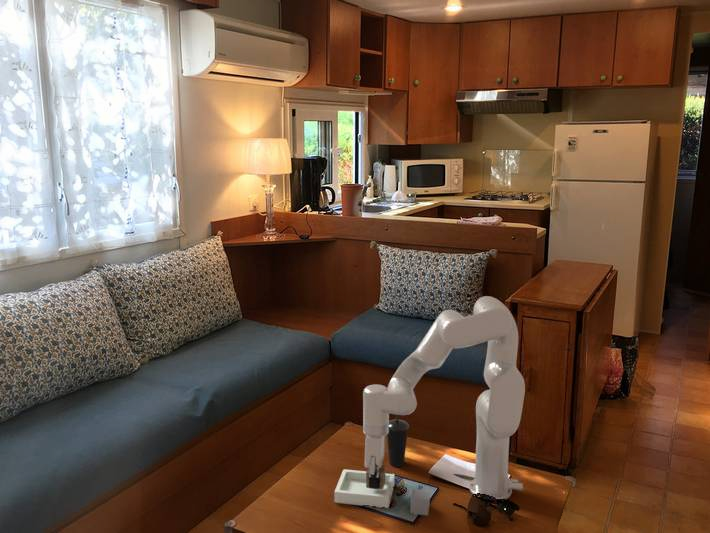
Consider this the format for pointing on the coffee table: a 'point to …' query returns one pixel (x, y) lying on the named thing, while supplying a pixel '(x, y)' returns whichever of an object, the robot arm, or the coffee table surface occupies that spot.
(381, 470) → the walnut block
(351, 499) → the white tray
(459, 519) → the coffee table surface
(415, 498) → the grey block
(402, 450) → the drinking cup
